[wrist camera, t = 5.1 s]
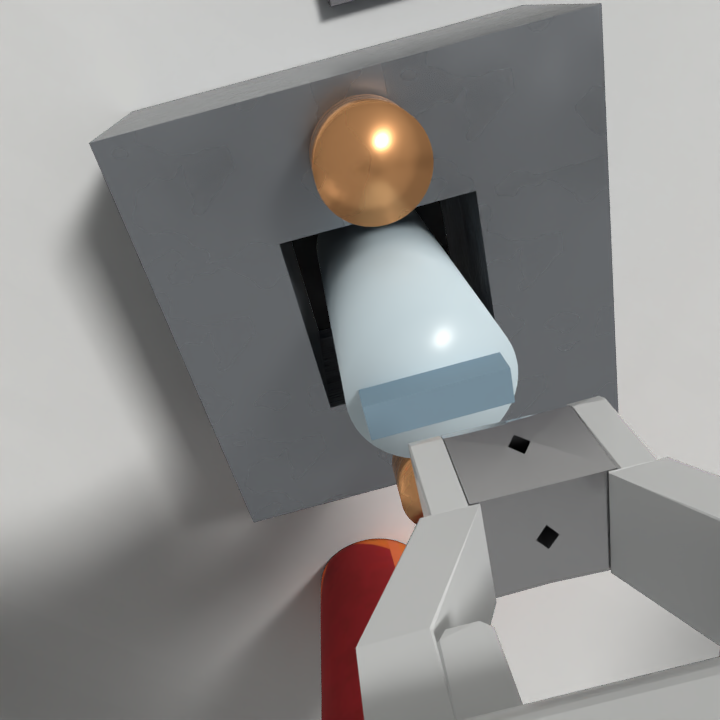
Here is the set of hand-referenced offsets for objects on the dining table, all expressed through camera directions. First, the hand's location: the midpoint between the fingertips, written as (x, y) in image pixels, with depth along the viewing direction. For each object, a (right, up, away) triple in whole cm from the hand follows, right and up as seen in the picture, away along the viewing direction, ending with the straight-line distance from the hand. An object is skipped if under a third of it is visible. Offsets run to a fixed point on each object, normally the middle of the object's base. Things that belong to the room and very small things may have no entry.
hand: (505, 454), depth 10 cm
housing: (-2, +6, +16) cm, 17 cm away
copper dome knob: (-2, +8, +10) cm, 13 cm away
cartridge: (-2, +6, +16) cm, 17 cm away
